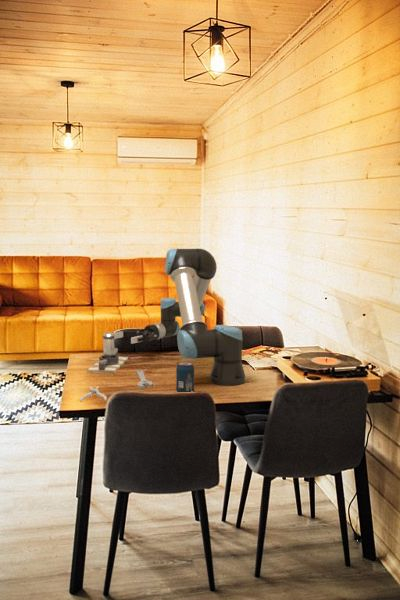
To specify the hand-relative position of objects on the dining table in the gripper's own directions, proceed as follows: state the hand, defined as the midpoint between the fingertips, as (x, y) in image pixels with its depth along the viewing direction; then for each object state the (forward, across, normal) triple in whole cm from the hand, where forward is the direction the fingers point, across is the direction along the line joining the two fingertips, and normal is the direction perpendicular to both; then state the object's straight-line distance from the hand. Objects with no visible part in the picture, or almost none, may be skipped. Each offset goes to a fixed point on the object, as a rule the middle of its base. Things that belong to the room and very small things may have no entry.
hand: (121, 338), depth 270 cm
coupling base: (+8, 0, -11) cm, 14 cm away
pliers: (+40, -29, -12) cm, 51 cm away
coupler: (+8, 0, -10) cm, 13 cm away
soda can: (+14, -54, -12) cm, 57 cm away
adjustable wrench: (+13, -29, -12) cm, 34 cm away
